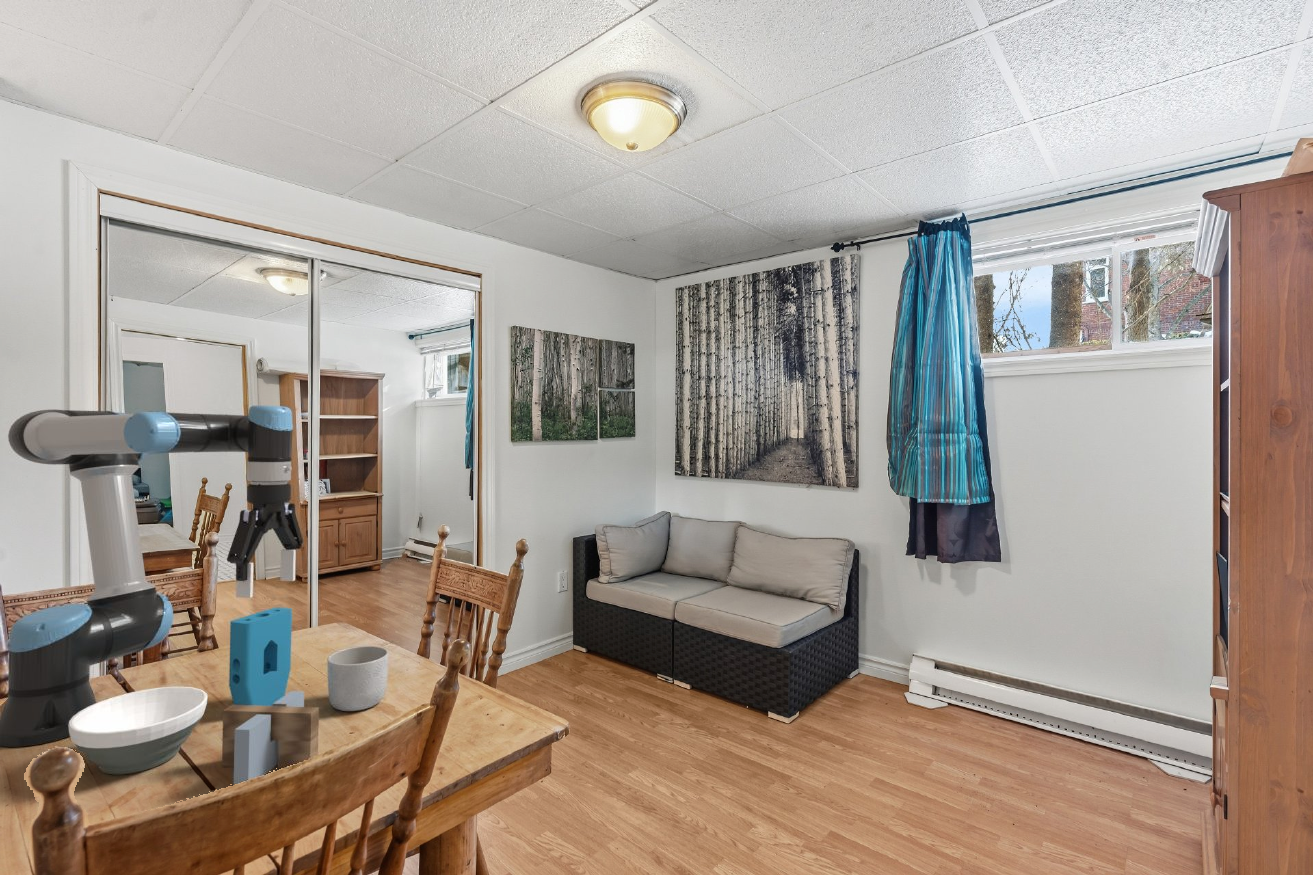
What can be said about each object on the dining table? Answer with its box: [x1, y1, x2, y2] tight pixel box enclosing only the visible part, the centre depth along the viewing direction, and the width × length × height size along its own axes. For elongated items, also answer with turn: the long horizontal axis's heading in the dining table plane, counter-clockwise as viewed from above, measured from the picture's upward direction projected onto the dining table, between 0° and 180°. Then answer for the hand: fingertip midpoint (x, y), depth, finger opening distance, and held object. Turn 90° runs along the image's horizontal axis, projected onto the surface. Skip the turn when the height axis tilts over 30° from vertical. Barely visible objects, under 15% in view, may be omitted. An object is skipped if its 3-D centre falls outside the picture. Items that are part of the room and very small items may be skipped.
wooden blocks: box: [221, 704, 320, 769], centre depth 114 cm, size 16×2×10 cm, turn 89°
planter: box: [326, 645, 390, 712], centre depth 140 cm, size 12×12×11 cm
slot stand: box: [233, 690, 305, 785], centre depth 114 cm, size 16×2×10 cm, turn 179°
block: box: [228, 606, 293, 706], centre depth 138 cm, size 12×5×20 cm, turn 165°
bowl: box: [68, 686, 209, 776], centre depth 115 cm, size 20×20×10 cm
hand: (267, 588), depth 126 cm, fingers open, 13 cm apart
